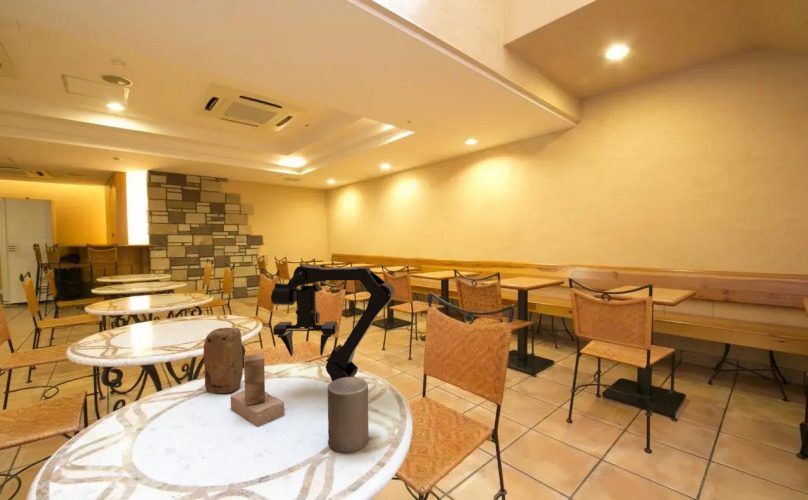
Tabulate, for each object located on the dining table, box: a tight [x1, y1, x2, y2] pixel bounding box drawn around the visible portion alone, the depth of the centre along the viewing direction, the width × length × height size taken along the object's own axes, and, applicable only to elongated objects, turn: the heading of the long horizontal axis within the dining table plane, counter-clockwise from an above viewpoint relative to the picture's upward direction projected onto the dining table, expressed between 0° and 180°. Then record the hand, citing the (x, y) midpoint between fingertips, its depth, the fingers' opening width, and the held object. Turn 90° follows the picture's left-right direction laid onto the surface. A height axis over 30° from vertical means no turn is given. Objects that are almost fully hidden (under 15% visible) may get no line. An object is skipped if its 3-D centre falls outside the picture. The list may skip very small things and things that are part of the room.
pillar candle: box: [327, 376, 369, 454], centre depth 80 cm, size 10×10×15 cm
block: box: [203, 327, 244, 394], centre depth 111 cm, size 11×8×20 cm
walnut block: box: [243, 353, 266, 405], centre depth 94 cm, size 5×5×12 cm
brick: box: [230, 389, 286, 427], centre depth 96 cm, size 17×8×5 cm, turn 51°
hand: (306, 355), depth 104 cm, fingers open, 9 cm apart
